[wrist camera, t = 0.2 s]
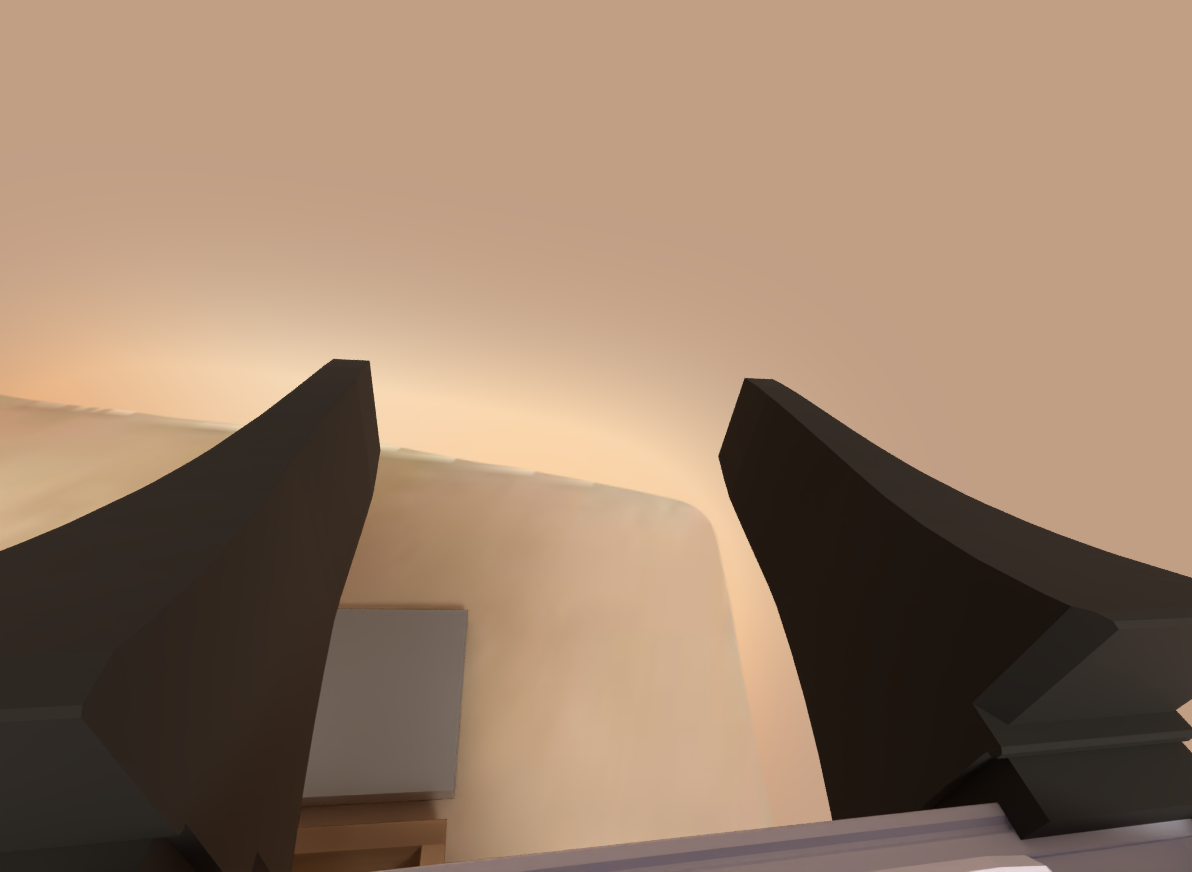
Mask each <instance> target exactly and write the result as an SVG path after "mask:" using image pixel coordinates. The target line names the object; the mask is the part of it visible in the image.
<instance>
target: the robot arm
mask: <svg viewBox="0 0 1192 872" xmlns="http://www.w3.org/2000/svg"><path fill="white" fill-rule="evenodd" d="M379 455H380V443H379V436H378V427H377V419H376V410H375V402H374V394H373V386H372V377H371V369H370V361H364V360H342V359H333V360H331V361H330V362H329V363H327V364H326V365H324V366H323V367H322V368H321V369H319V370H318V371H317V372H316V373H315V374H313V375H312V376H311V377H309V378H308V379H307V380H306V381H304V382H303V383H302V384H300V385H299V386H298V387H297V388H295V389H294V390H293V391H292V392H290V393H289V394H288V395H286V396H285V397H284V398H282V399H281V400H280V401H279V402H277V403H276V404H275V405H273V406H272V407H271V408H269V409H268V410H267V411H266V412H264V413H263V414H261V415H260V416H259V417H257V418H256V419H254V420H253V421H251V422H250V423H248V424H247V425H245V426H244V427H243V428H241V429H240V430H238V431H237V432H235V433H234V434H232V435H231V436H229V437H228V438H226V439H225V440H223V441H222V442H221V443H219V444H218V445H216V446H215V447H213V448H212V449H210V450H208V451H207V452H205V453H204V454H202V455H200V456H199V457H197V458H195V459H194V460H192V461H190V462H189V463H187V464H185V465H183V466H182V467H180V468H178V469H176V470H174V471H173V472H171V473H169V474H167V475H165V476H164V477H162V478H160V479H158V480H156V481H155V482H153V483H151V484H149V485H147V486H145V487H143V488H141V489H139V490H137V491H135V492H133V493H131V494H129V495H127V496H125V497H123V498H121V499H118V500H116V501H114V502H112V503H110V504H108V505H106V506H104V507H102V508H99V509H97V510H95V511H93V512H91V513H89V514H87V515H85V516H83V517H80V518H78V519H76V520H74V521H72V522H70V523H68V524H65V525H63V526H61V527H58V528H56V529H54V530H51V531H49V532H46V533H44V534H42V535H39V536H37V537H34V538H32V539H30V540H27V541H25V542H22V543H20V544H17V545H15V546H12V547H10V548H7V549H4V550H2V551H0V872H292V865H293V858H294V851H295V845H296V838H297V831H298V824H299V817H300V810H301V803H302V797H303V791H304V785H305V779H306V772H307V766H308V760H309V754H310V748H311V742H312V736H313V730H314V725H315V719H316V714H317V708H318V703H319V697H320V692H321V686H322V681H323V675H324V670H325V665H326V660H327V655H328V650H329V645H330V640H331V635H332V630H333V625H334V620H335V617H336V613H337V609H338V605H339V602H340V598H341V595H342V592H343V589H344V585H345V582H346V579H347V576H348V573H349V570H350V567H351V563H352V560H353V557H354V554H355V551H356V548H357V545H358V541H359V538H360V535H361V532H362V529H363V526H364V522H365V519H366V516H367V513H368V510H369V506H370V503H371V500H372V496H373V491H374V486H375V480H376V474H377V468H378V461H379ZM718 457H719V461H720V465H721V469H722V473H723V476H724V481H725V484H726V487H727V490H728V494H729V498H730V500H731V502H732V505H733V507H734V509H735V512H736V514H737V516H738V519H739V521H740V523H741V525H742V528H743V530H744V532H745V534H746V537H747V539H748V541H749V543H750V546H751V548H752V550H753V552H754V554H755V557H756V559H757V561H758V563H759V566H760V568H761V570H762V572H763V575H764V577H765V579H766V581H767V583H768V586H769V588H770V591H771V593H772V596H773V598H774V601H775V603H776V606H777V608H778V612H779V614H780V618H781V621H782V624H783V627H784V630H785V633H786V637H787V639H788V643H789V646H790V649H791V652H792V656H793V660H794V663H795V666H796V670H797V673H798V677H799V680H800V684H801V688H802V691H803V695H804V698H805V702H806V706H807V710H808V714H809V718H810V722H811V726H812V730H813V734H814V738H815V742H816V746H817V750H818V754H819V759H820V764H821V768H822V773H823V778H824V782H825V787H826V792H827V797H828V801H829V806H830V811H831V816H832V821H826V822H816V823H807V824H798V825H789V826H780V827H771V828H762V829H753V830H743V831H734V832H725V833H716V834H707V835H698V836H689V837H680V838H671V839H662V840H653V841H644V842H635V843H626V844H617V845H608V846H599V847H590V848H581V849H572V850H563V851H554V852H545V853H536V854H527V855H518V856H508V857H499V858H490V859H481V860H472V861H463V862H454V863H445V864H436V865H427V866H418V867H409V868H400V869H391V870H382V871H373V872H1192V753H1191V751H1190V750H1189V749H1188V748H1187V747H1186V746H1185V745H1184V744H1183V743H1182V741H1189V740H1190V739H1191V738H1192V727H1191V726H1190V725H1189V724H1188V723H1187V722H1186V721H1185V720H1184V718H1182V716H1181V715H1180V714H1179V713H1178V712H1177V711H1176V709H1178V708H1179V707H1181V706H1182V705H1184V704H1185V703H1187V702H1188V701H1189V700H1191V699H1192V578H1191V577H1187V576H1184V575H1181V574H1178V573H1174V572H1171V571H1168V570H1165V569H1161V568H1158V567H1155V566H1151V565H1148V564H1145V563H1141V562H1138V561H1135V560H1132V559H1129V558H1125V557H1122V556H1118V555H1116V554H1113V553H1110V552H1106V551H1104V550H1101V549H1098V548H1095V547H1092V546H1090V545H1087V544H1084V543H1081V542H1079V541H1076V540H1073V539H1070V538H1067V537H1065V536H1062V535H1059V534H1056V533H1054V532H1051V531H1049V530H1046V529H1044V528H1041V527H1038V526H1036V525H1034V524H1031V523H1029V522H1026V521H1024V520H1021V519H1019V518H1016V517H1015V516H1012V515H1010V514H1008V513H1005V512H1003V511H1001V510H998V509H996V508H993V507H991V506H989V505H987V504H984V503H982V502H980V501H978V500H976V499H974V498H972V497H970V496H967V495H965V494H963V493H961V492H959V491H957V490H955V489H953V488H952V487H950V486H948V485H946V484H944V483H942V482H940V481H938V480H936V479H934V478H932V477H930V476H928V475H926V474H924V473H923V472H921V471H919V470H917V469H915V468H914V467H912V466H910V465H908V464H907V463H905V462H903V461H902V460H900V459H898V458H896V457H895V456H893V455H891V454H890V453H888V452H887V451H885V450H883V449H881V448H880V447H878V446H877V445H875V444H873V443H872V442H870V441H869V440H867V439H866V438H864V437H863V436H861V435H859V434H858V433H856V432H855V431H853V430H852V429H850V428H849V427H847V426H846V425H844V424H843V423H841V422H840V421H838V420H837V419H835V418H834V417H832V416H831V415H829V414H828V413H826V412H825V411H823V410H822V409H820V408H819V407H817V406H816V405H814V404H813V403H811V402H810V401H808V400H807V399H805V398H804V397H802V396H801V395H799V394H797V393H796V392H794V391H793V390H791V389H789V388H788V387H786V386H784V385H783V384H781V383H779V382H777V381H775V380H773V379H754V378H745V379H744V382H743V385H742V388H741V391H740V394H739V397H738V399H737V402H736V405H735V408H734V412H733V414H732V417H731V420H730V423H729V427H728V429H727V432H726V435H725V438H724V441H723V444H722V447H721V450H720V453H719V456H718Z"/></svg>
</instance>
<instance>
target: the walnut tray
mask: <svg viewBox="0 0 1192 872" xmlns="http://www.w3.org/2000/svg"><path fill="white" fill-rule="evenodd" d="M446 825H447V819H438V820H422V821H405V822H388V823H371V824H354V825H338V826H321V827H304V828H298V831H297V838H296V845H295V851H294V858H293V865H292V872H373V871H382V870H391V869H400V868H409V867H418V866H427V865H436V864H444V857H445V844H446Z"/></svg>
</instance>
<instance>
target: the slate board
mask: <svg viewBox="0 0 1192 872" xmlns="http://www.w3.org/2000/svg"><path fill="white" fill-rule="evenodd" d="M467 619H468V610H426V609H337V613H336V617H335V620H334V625H333V630H332V635H331V640H330V645H329V650H328V655H327V660H326V665H325V670H324V675H323V681H322V686H321V692H320V697H319V703H318V708H317V714H316V719H315V725H314V730H313V736H312V742H311V748H310V754H309V760H308V766H307V772H306V779H305V785H304V791H303V797H302V803H301V806H319V805H338V804H357V803H376V802H395V801H414V800H433V799H452V798H454V793H455V779H456V766H457V753H458V739H459V726H460V712H461V699H462V686H463V672H464V659H465V646H466V632H467Z"/></svg>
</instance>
